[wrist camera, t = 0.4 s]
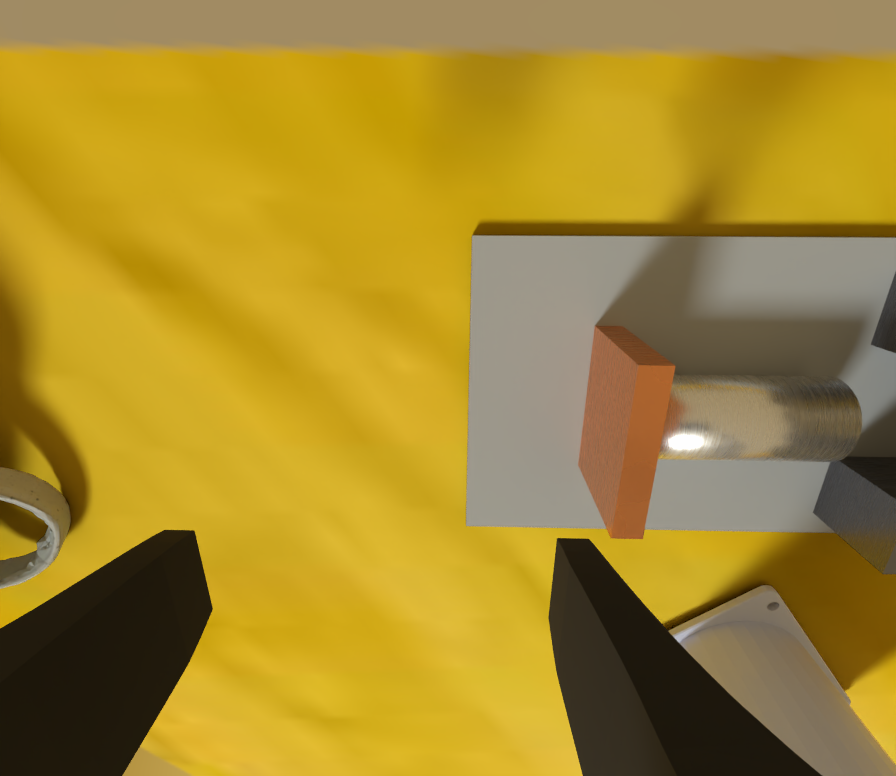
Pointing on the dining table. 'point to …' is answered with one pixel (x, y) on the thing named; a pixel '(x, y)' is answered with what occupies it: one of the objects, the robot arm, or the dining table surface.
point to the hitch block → (866, 483)
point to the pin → (696, 423)
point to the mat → (682, 343)
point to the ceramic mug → (45, 506)
